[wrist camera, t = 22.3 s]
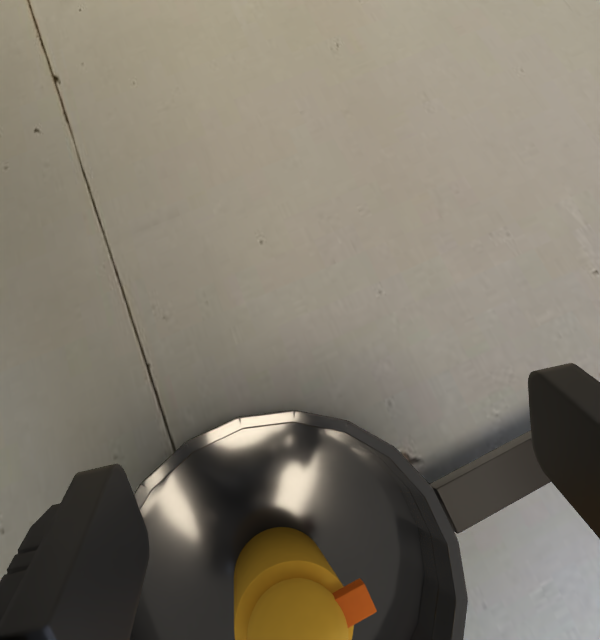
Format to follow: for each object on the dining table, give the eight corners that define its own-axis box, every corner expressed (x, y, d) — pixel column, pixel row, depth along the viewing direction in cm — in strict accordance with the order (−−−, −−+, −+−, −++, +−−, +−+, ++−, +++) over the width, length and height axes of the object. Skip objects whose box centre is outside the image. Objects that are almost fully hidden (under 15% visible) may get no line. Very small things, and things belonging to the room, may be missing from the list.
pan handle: (447, 528, 28) (458, 534, 27) (426, 485, 28) (436, 488, 27) (614, 435, 30) (632, 436, 29) (593, 396, 30) (610, 395, 29)
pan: (195, 814, 27) (187, 902, 22) (68, 496, 29) (35, 512, 24) (480, 641, 30) (527, 685, 25) (348, 364, 32) (369, 355, 27)
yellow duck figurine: (257, 643, 28) (269, 763, 19) (218, 553, 29) (211, 624, 19) (352, 590, 29) (411, 677, 20) (313, 504, 30) (352, 548, 20)
